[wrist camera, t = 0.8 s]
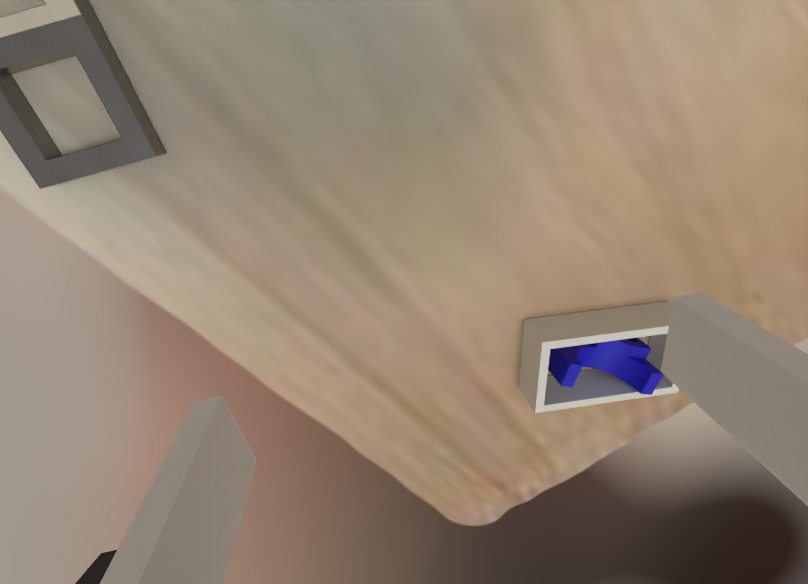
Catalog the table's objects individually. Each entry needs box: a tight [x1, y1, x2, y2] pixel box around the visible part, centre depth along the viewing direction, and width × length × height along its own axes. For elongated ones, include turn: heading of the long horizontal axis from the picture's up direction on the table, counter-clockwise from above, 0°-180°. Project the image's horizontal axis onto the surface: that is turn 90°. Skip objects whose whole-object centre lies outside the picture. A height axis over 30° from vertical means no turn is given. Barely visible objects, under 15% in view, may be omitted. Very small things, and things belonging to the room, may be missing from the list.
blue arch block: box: [548, 337, 664, 395], centre depth 46 cm, size 12×4×6 cm, turn 78°
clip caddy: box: [519, 301, 679, 413], centre depth 46 cm, size 10×18×5 cm, turn 94°
